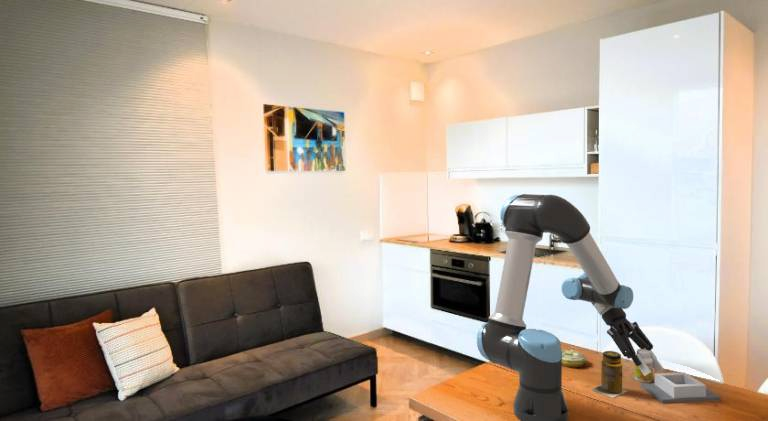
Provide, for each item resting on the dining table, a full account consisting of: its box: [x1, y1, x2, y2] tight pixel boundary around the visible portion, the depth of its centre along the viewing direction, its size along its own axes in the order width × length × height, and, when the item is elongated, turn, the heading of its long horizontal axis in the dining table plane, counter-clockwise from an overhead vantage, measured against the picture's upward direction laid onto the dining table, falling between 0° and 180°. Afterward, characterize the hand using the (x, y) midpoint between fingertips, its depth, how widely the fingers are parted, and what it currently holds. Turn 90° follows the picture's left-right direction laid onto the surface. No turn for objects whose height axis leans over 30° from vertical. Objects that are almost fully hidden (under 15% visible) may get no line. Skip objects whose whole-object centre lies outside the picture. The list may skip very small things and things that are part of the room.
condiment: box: [591, 350, 629, 399], centre depth 152 cm, size 7×8×12 cm
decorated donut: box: [562, 349, 588, 368], centre depth 175 cm, size 10×11×4 cm
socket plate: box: [640, 371, 722, 404], centre depth 149 cm, size 18×11×4 cm, turn 92°
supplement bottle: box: [633, 348, 654, 383], centre depth 159 cm, size 5×5×10 cm
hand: (653, 372), depth 156 cm, fingers closed on supplement bottle, 5 cm apart
